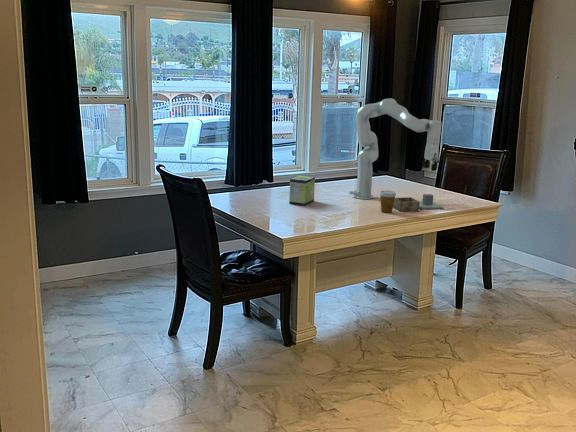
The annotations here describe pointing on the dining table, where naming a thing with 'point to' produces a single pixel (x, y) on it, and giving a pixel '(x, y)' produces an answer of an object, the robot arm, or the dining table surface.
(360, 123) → the robot arm
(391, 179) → the dining table surface
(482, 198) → the dining table surface
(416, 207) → the storage box
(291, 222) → the dining table surface
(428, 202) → the lid
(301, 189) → the protein box
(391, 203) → the disposable coffee cup
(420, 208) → the rubber mat
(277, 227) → the dining table surface
